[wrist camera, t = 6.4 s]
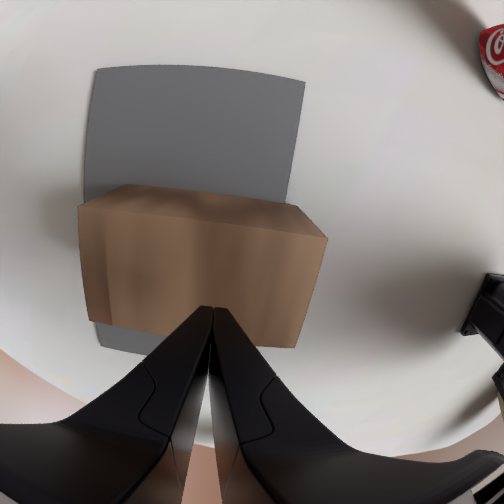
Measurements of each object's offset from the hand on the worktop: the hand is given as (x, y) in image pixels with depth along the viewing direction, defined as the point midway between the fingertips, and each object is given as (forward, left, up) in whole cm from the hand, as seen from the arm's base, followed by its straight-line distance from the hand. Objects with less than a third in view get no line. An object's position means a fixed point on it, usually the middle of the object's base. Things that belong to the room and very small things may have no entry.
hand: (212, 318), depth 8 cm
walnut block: (-4, 0, -4) cm, 6 cm away
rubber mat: (+3, 0, -7) cm, 7 cm away
